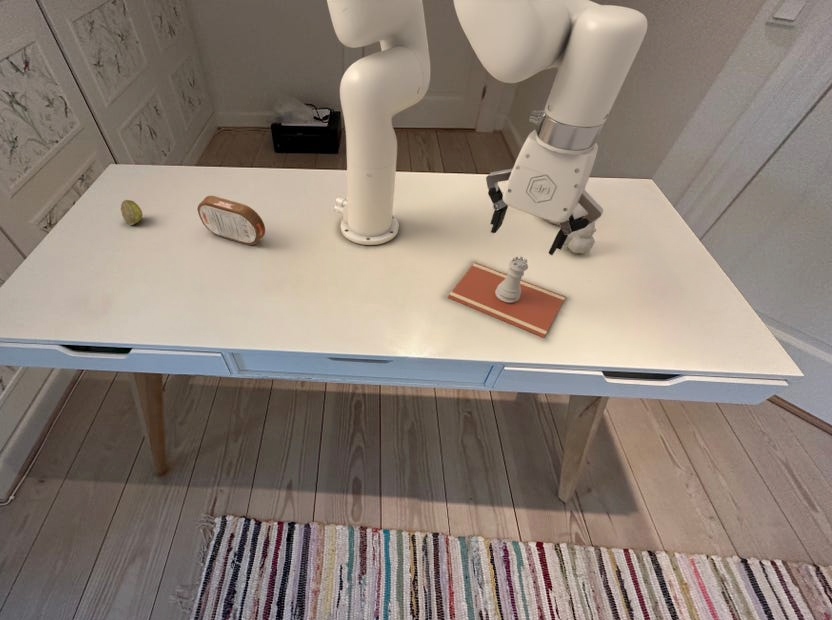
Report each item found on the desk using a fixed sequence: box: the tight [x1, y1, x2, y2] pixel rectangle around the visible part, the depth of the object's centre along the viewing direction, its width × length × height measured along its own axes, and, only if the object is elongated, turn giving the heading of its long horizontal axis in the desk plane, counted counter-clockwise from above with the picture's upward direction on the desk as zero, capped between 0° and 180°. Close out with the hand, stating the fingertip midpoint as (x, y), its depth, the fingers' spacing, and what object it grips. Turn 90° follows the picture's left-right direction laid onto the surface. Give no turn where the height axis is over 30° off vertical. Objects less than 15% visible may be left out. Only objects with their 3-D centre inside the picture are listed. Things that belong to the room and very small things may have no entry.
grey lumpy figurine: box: [563, 221, 597, 254], centre depth 84 cm, size 5×7×8 cm
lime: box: [120, 199, 144, 226], centre depth 92 cm, size 4×5×5 cm
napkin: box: [447, 262, 566, 339], centre depth 78 cm, size 18×12×1 cm, turn 56°
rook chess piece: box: [495, 255, 529, 303], centre depth 74 cm, size 4×4×8 cm
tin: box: [197, 195, 266, 246], centre depth 87 cm, size 15×3×8 cm, turn 65°
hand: (523, 239), depth 69 cm, fingers open, 9 cm apart
